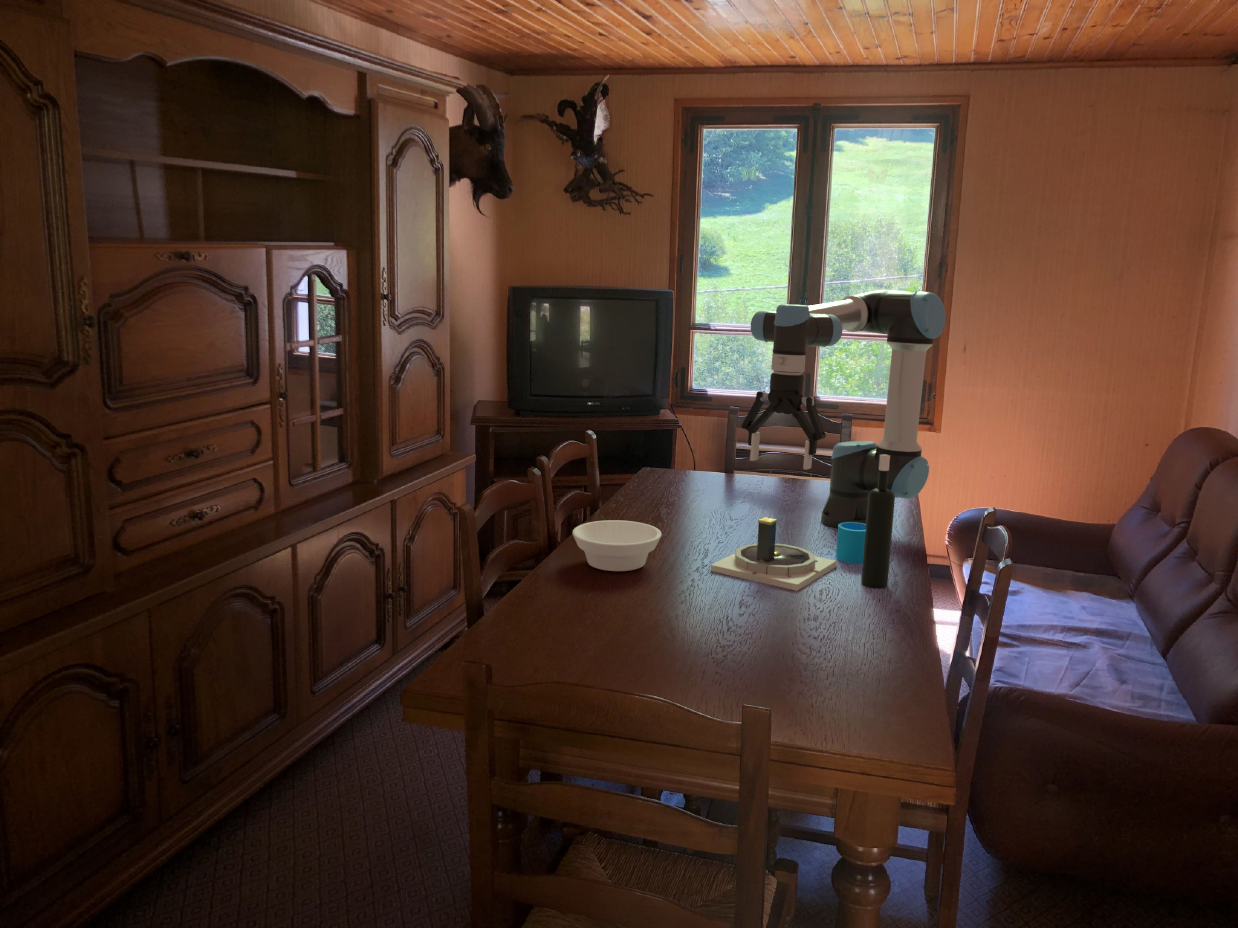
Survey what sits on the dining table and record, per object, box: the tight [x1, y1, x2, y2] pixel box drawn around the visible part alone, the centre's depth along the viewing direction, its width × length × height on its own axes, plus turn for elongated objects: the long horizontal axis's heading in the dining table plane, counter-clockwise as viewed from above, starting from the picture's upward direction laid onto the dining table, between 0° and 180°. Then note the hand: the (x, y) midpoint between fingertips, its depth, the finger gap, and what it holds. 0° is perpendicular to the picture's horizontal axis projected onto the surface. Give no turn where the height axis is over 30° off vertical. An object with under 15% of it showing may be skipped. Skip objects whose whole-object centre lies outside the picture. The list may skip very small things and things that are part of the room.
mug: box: [835, 522, 866, 564], centre depth 238 cm, size 12×8×8 cm
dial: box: [745, 516, 805, 566], centre depth 226 cm, size 14×14×11 cm
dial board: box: [710, 543, 837, 592], centre depth 227 cm, size 22×22×4 cm
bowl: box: [572, 519, 663, 572], centre depth 227 cm, size 21×21×8 cm
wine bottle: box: [860, 454, 896, 589], centre depth 215 cm, size 6×6×30 cm
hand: (780, 464), depth 223 cm, fingers open, 13 cm apart
